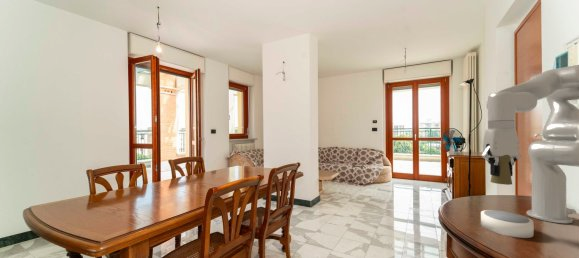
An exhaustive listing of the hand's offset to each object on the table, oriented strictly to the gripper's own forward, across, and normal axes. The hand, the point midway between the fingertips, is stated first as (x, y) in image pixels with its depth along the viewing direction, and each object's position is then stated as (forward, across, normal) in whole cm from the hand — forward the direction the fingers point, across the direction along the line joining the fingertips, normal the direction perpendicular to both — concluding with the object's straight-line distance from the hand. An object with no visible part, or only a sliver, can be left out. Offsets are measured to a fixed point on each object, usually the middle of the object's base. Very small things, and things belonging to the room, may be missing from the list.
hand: (501, 175), depth 87 cm
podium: (+19, 0, +2) cm, 19 cm away
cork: (+3, 0, 0) cm, 3 cm away
